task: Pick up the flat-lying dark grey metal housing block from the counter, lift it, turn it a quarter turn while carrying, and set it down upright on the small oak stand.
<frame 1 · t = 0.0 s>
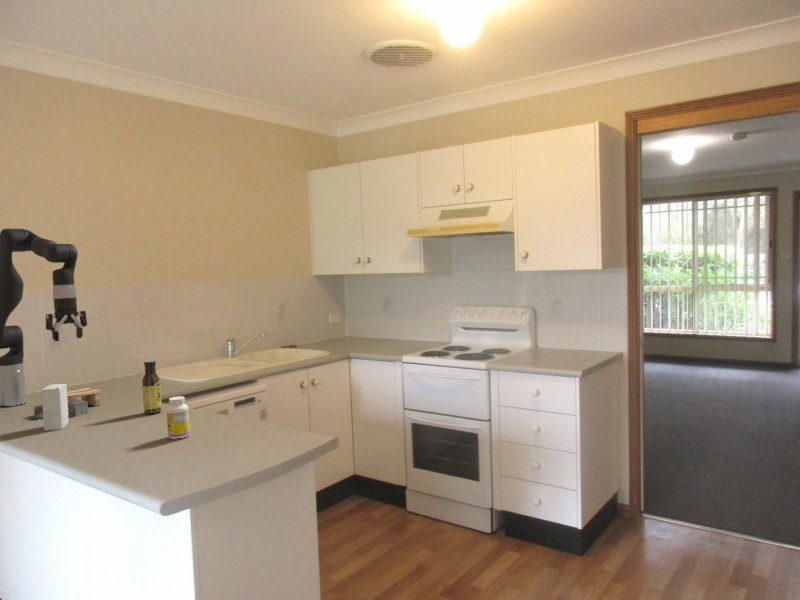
hand: (68, 339, 223), 29 cm above the countertop, tool pointing down, fingers open, 8 cm apart
supplement bottle: (179, 437, 191), on the countertop
skincare box: (57, 427, 209), on the countertop
walnut block: (43, 415, 227), on the countertop
housing: (76, 414, 227), on the countertop
stand: (79, 407, 238), on the countertop
rubber puck: (38, 419, 222), on the countertop
sauce bottle: (153, 413, 225), on the countertop
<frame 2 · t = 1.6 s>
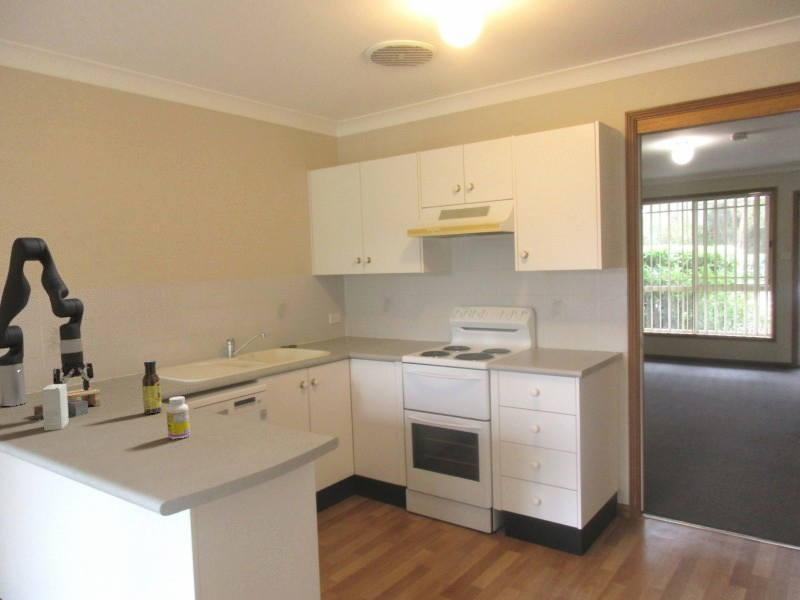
hand: (75, 392, 226), 8 cm above the countertop, tool pointing down, fingers open, 8 cm apart
nothing on the countertop moved.
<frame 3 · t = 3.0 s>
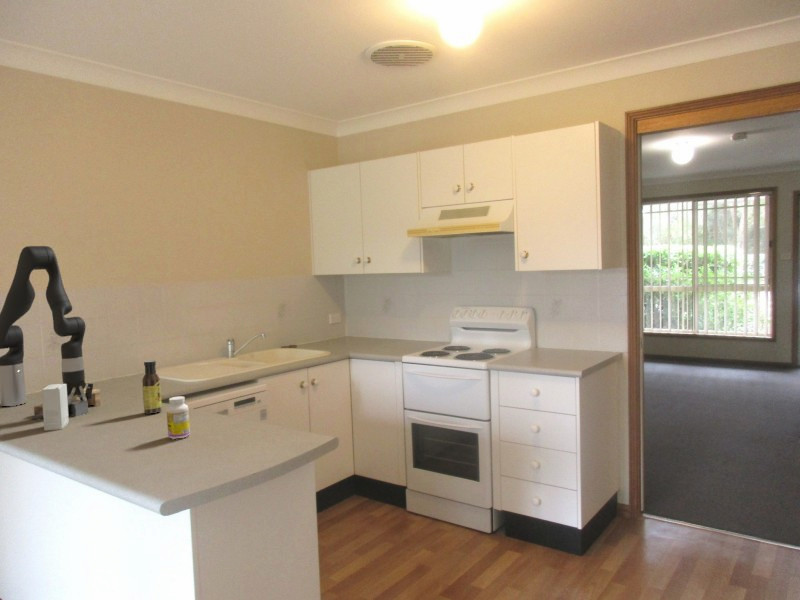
hand: (76, 412, 227), 1 cm above the countertop, tool pointing down, fingers closed on housing, 5 cm apart
housing: (76, 414, 227), on the countertop, touching gripper
everything else where it was.
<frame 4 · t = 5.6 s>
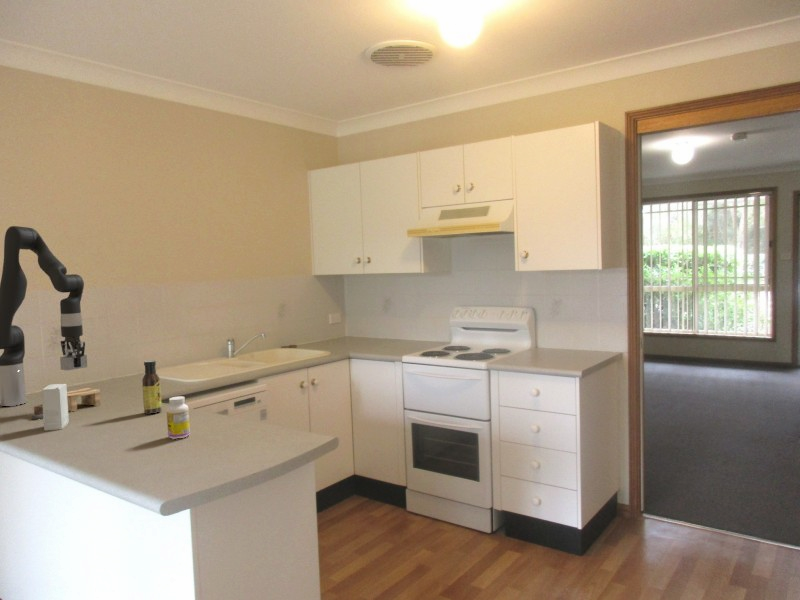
hand: (74, 366, 236), 17 cm above the countertop, tool pointing down, fingers closed on housing, 4 cm apart
housing: (74, 368, 236), point 16 cm above the countertop, touching gripper
everything else where it was.
when the fingers open (8 cm above the countertop, at t = 8.2 s): housing drops 1 cm, resting on stand.
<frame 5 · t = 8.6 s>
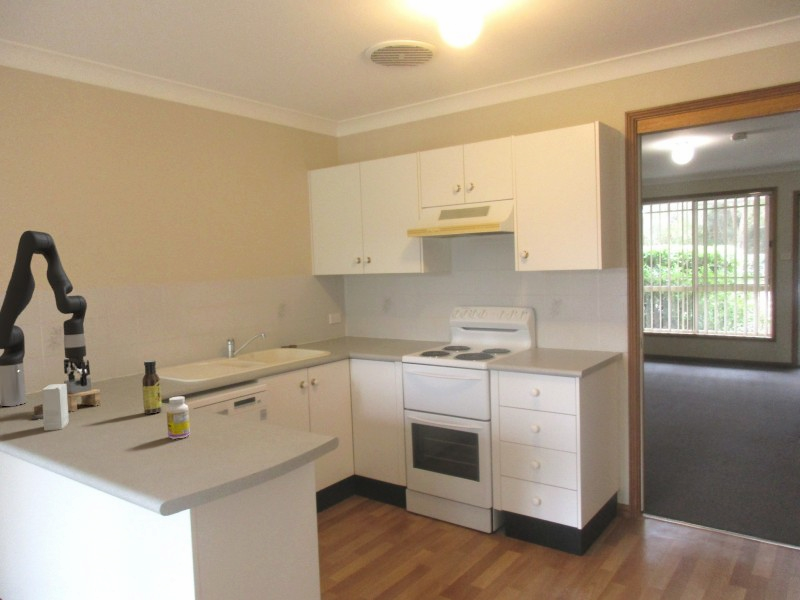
hand: (77, 385, 238), 9 cm above the countertop, tool pointing down, fingers open, 8 cm apart
housing: (78, 391, 238), point 6 cm above the countertop, touching stand
everything else where it was.
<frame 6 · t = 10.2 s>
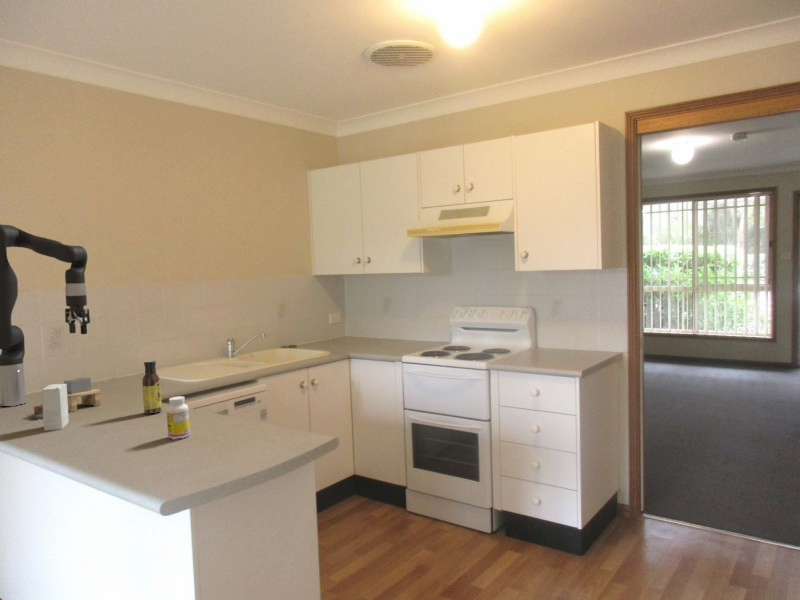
hand: (78, 333, 243), 29 cm above the countertop, tool pointing down, fingers open, 8 cm apart
nothing on the countertop moved.
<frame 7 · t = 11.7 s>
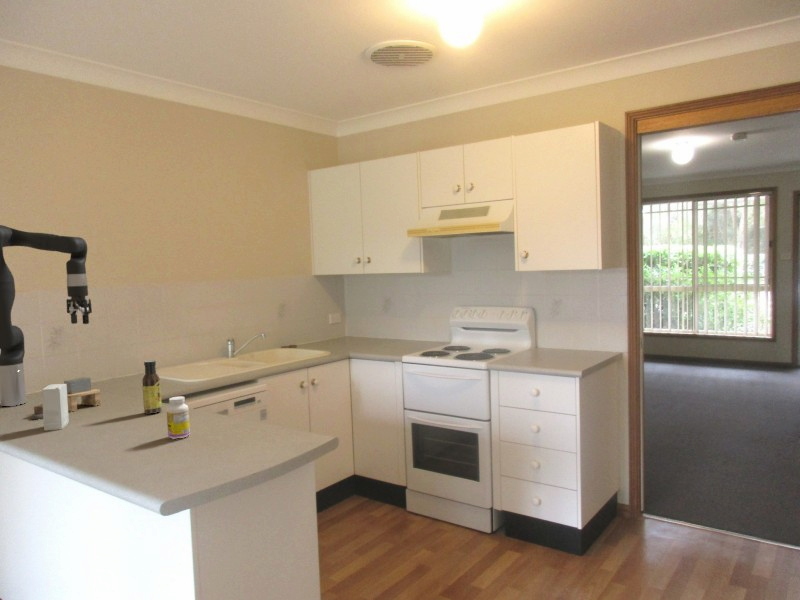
hand: (80, 323, 246), 33 cm above the countertop, tool pointing down, fingers open, 8 cm apart
nothing on the countertop moved.
at the end: housing inside the target area on the stand (0.1 cm from its centre), point 6.4 cm above the stand's base; housing tilted 0°; the gripper is holding nothing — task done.
